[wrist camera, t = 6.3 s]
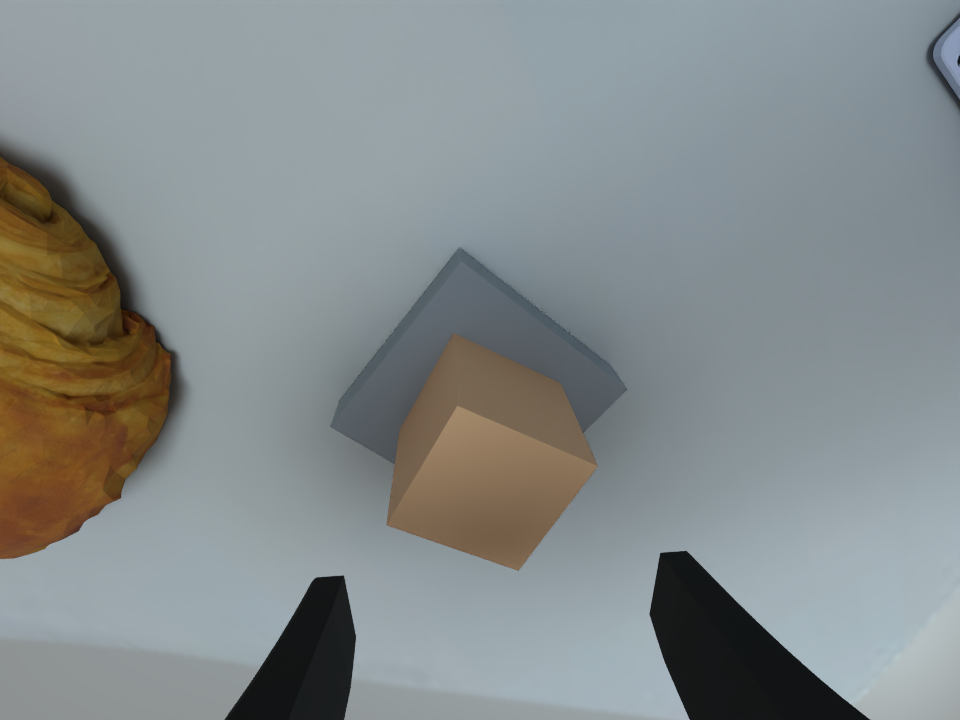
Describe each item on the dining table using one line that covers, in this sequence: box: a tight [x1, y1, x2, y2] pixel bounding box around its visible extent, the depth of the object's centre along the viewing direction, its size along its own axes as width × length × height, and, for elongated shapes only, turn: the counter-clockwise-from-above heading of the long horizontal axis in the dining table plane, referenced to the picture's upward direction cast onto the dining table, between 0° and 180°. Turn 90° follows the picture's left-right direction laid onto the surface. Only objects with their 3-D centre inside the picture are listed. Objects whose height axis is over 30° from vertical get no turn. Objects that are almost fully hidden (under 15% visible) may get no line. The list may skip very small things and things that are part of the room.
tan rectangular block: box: [387, 333, 598, 571], centre depth 17 cm, size 4×4×5 cm
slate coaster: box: [330, 247, 627, 464], centre depth 20 cm, size 8×8×2 cm
